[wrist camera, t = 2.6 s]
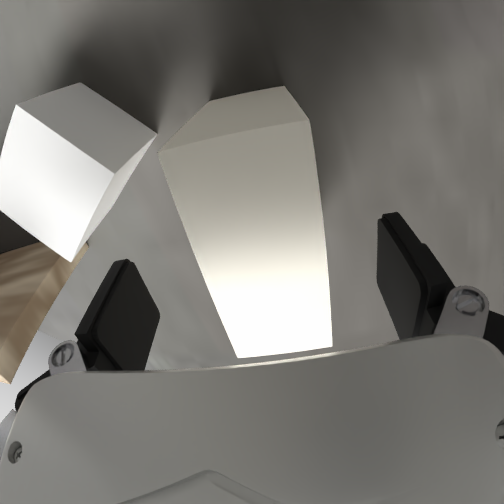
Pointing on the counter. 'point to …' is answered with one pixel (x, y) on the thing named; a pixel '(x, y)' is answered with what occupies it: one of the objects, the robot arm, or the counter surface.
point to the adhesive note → (67, 164)
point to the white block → (255, 219)
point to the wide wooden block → (28, 298)
